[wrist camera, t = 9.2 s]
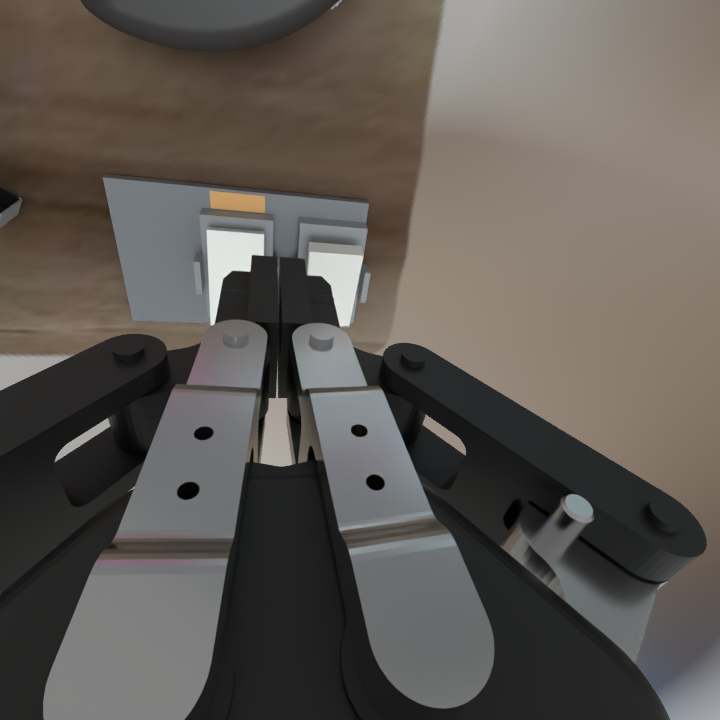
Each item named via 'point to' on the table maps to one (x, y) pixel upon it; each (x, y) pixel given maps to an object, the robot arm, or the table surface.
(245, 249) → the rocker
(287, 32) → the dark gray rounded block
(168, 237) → the switch unit
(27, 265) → the table surface
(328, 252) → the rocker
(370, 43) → the table surface
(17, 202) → the graphics card
